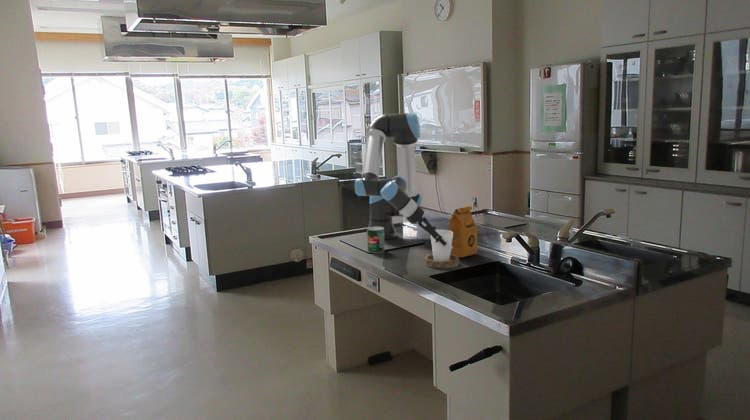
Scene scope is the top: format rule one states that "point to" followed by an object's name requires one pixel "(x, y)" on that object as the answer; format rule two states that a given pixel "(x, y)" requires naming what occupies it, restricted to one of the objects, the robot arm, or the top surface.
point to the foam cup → (438, 249)
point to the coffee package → (463, 232)
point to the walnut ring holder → (441, 265)
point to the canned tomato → (376, 239)
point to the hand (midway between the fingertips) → (447, 245)
